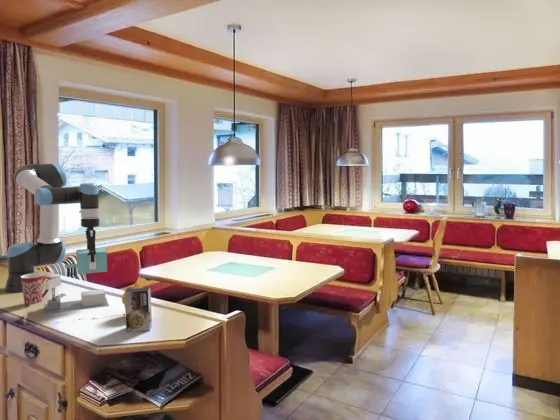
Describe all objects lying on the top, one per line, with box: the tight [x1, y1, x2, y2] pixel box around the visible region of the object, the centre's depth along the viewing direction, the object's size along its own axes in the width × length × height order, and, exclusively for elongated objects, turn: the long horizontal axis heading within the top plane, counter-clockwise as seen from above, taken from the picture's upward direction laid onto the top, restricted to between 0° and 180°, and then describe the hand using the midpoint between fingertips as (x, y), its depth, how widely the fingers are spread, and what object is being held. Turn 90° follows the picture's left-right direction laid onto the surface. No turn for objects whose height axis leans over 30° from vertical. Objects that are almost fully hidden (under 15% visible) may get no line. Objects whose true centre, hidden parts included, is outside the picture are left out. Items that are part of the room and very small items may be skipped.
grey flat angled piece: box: [44, 275, 67, 300], centre depth 200 cm, size 2×11×10 cm, turn 170°
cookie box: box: [124, 286, 153, 333], centre depth 177 cm, size 9×6×16 cm
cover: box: [64, 247, 108, 275], centre depth 203 cm, size 10×17×9 cm, turn 116°
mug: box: [21, 272, 51, 307], centre depth 209 cm, size 13×9×14 cm
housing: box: [43, 288, 110, 315], centre depth 203 cm, size 15×26×6 cm, turn 116°
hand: (91, 266), depth 205 cm, fingers closed on cover, 10 cm apart
